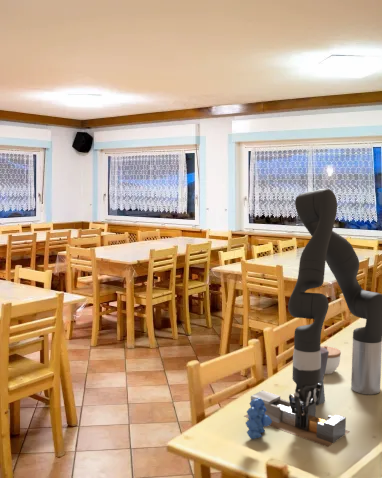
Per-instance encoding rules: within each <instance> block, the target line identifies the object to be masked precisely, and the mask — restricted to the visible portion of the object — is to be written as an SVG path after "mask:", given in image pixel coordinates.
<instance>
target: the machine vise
mask: <svg viewBox="0 0 382 478" xmlns="http://www.w3.org/2000/svg"><path fill="white" fill-rule="evenodd" d="M256 398H261V399H262V400H263V402H264V406H265V408H266V412H265V415H268V416H269V417H270V419H271V420H272V423H271V424H270V425H269V426H270V427H272V428H274V429H277V430H280V431H283V432H285V433H288V434H291V435H294V436H296V437H299V438H302V439H305V440H308V441H309V442H313V443H316V444H319V445H321V446H324V447H327V448H329V447H330V446H331V445H333V444H334V443H330V442H328V441H325V440H322V439H319V438H316V437H317V433H314V432H311V431H305V430H303V429H300V428H297V427H295V426H293V425H290V424H287V423H284V422H282V421H281V407H279V406H276V405H273V404H271V403H273V402H277V403H280V404H283V405H286V406H289V407H291V406H290V401H289V400H286V399H282V398H281V395H278V394H275V393H272V392H269V391H266V390H264V389H263V390H260V391H258V392H256V393H254V394H251V395H250V402H251V401H252V400H253V399H256ZM243 417H244V418H246V419H248V417H249V415H248V414H245V415H244V416H243ZM348 433H350V430H347V429H346V430H345V435H344V436H346V435H347V434H348ZM339 440H340V439H338V440H337V441H339Z"/></svg>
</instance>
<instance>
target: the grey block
mask: <svg viewBox="0 0 382 478" xmlns="http://www.w3.org/2000/svg"><path fill="white" fill-rule="evenodd" d="M300 402H301V403H305V402H302V401H300ZM271 404H273V405H276V406H279V407H281V421H282V422H284V423H287V424H290V425H293V426H295V427H297V415H296V414H293V413H292V411H291V406H290V407H289V406H286V405H283V404H280V403H277V402H273V403H271ZM295 409H296V408H295ZM301 411H302V406H301ZM316 411H317V405H316V402H312V401H309V404H308V406H307V407H306V411H305V428H303V430H305V431H311V432H314V433H317V423H318V422H321V423H324V422H325V421H327V420H326V419H324V418H319V417H317V416H316V415H317V414H316V413H317V412H316ZM297 428H299V427H297ZM300 429H302V428H300Z"/></svg>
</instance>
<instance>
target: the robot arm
mask: <svg viewBox="0 0 382 478" xmlns="http://www.w3.org/2000/svg"><path fill="white" fill-rule="evenodd" d="M294 205H295V210H296V213H297V216H298V218H299V220H300V221H301V223H302V224H303V226H304V227H305V228H306V230H307V232H308V233H309V235H310V236H311V238H310V239H309V241H308V242H307V243H306V245H305V246H304V248H303V250H302V252H301V255H300V259H299V264H298V265H299V266H298V275H297V280H296V283H295V285H294V288H293V290H292V292H291V294H290V296H289V300H288V303H287V309H288V313H289V314H290V316H291V317H293V318H296V319H310V320H313V322H312V323H311V324H305V325H300V326H297V327H296V328H295V329H294V336H293V337H294V341H293V354H292V381H293V382H294V383H295V385H296V386H295V389H294V394H289V395H288V399H289V400H288V401H289V402H290V407H291V411H292V413H293V414H296V415H297V427H299V428H302V429H303V428H305V411H306V407H307V406H308V404H309V401H312V402H316V407H317V406H319V405H320V404H319V402H320V396H321V391H322V384H319V383H320V379H321V352H320V346H321V341H322V339H321V338H322V330H323V325H324V321H325V319H326V317H327V314H328V311H329V308H330V307H329V299H328V298H327V296H326V295H325V294H323V293H320V292H319V293H318V292H306V291H308V290H311V289H317V288H319V287H322V286H323V284H324V280H325V271H326V270H325V268H326V265H328V266H327V267H328V268H329V270H330V271H331V273H332V274H333V277H334V278H335V280H336V283H337V285H338V286H339V288H340V290H341V292H342V295H343V298H344V300H345V303H346V306H347V309H348V310H349V312H350V313H351V315H353V316H355V317H356V318H360V319H364V320H366V321H365V326H361V327H356V328H355V329H354V330H353V331H352V353H351V354H352V355H351V358H352V359H351V380H350V381H351V383H350V385H351V386H350V388H351V390H352V391H354V392H355V393H359V394H362V395H376V394H379V393H380V392H381V379H382V378H381V377H382V293H379V292H376V291H375V292H374V291H369V290H365V289H364V288H362V287H361V285H360V283H359V282H358V279H357V278H358V277H357V276H358V273H359V269H360V260H359V257H358V255H357V253H356V251H355V249H354V247H353V245H352V244H351V243H350V241H348V240H347V239H346V238H345V237H343V236H342V235H340V234H339V233H337V232H336V231H333V229H334V226H335V223H336V222H335V221H336V217H337V213H338V201H337V197H336V194H335V193H334V191H333V190H331V189H330V188H320V189H315V190H312V191H307V192H303V193H299V194H298V195H297V196H296V197H295V200H294ZM316 391H317V392H316ZM316 396H317V398H316ZM300 401H302V402H305V403H301V402H300ZM301 406H302V411H301ZM295 408H296V409H295Z"/></svg>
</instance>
